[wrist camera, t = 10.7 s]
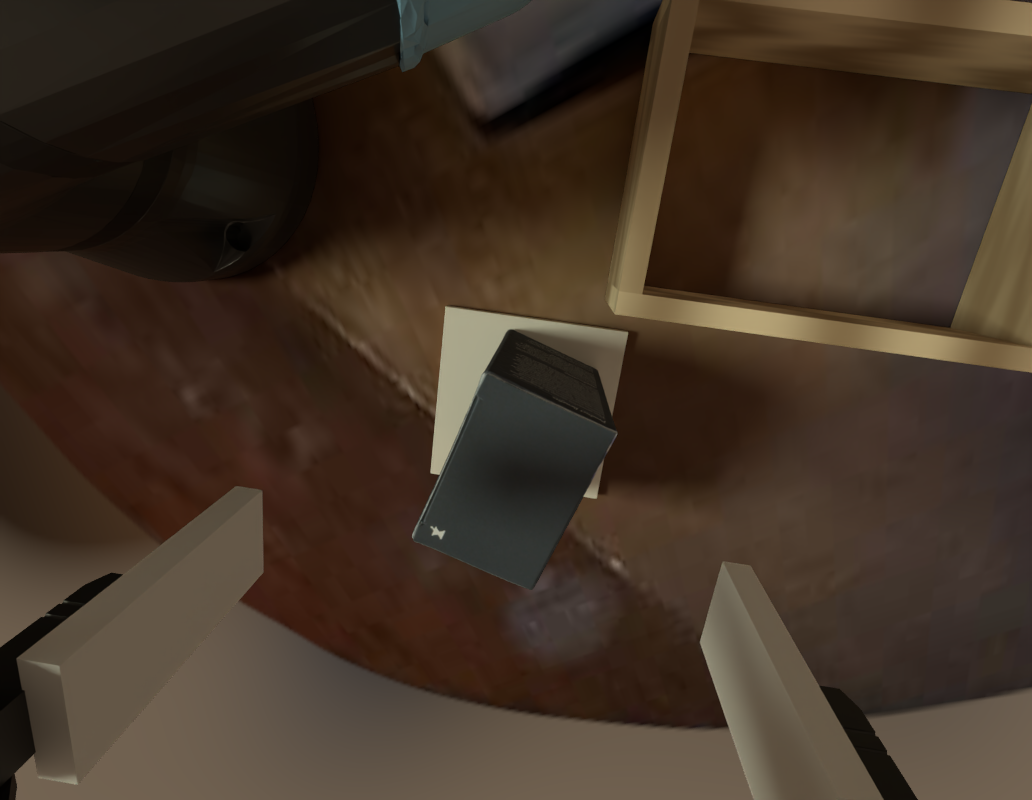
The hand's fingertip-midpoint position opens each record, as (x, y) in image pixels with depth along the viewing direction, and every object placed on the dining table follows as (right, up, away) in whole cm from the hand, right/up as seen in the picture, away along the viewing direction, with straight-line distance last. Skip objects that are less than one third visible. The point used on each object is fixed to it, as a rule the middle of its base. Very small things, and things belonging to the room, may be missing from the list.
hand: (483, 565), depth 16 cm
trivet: (+1, +5, +16) cm, 17 cm away
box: (+1, +4, +16) cm, 16 cm away
